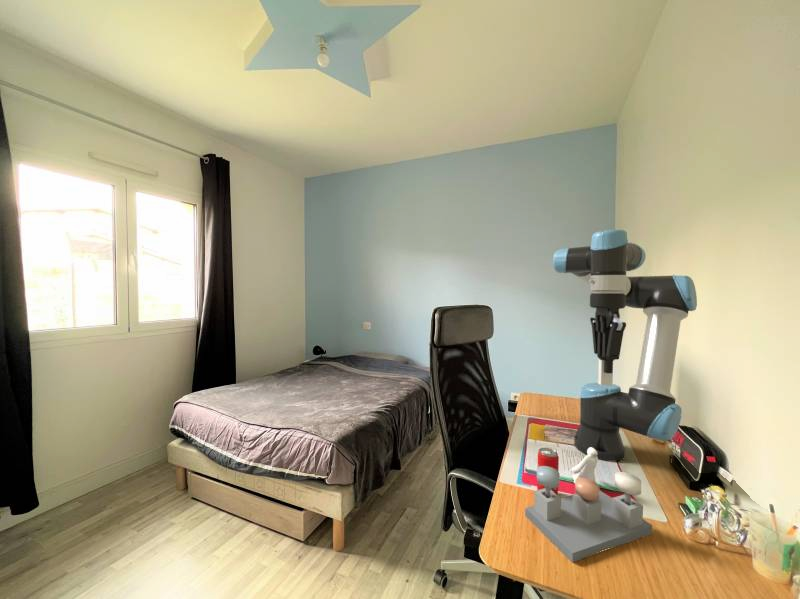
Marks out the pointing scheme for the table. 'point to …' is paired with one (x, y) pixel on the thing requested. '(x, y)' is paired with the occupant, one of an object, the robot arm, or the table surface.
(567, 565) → the table surface
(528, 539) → the table surface
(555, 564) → the table surface
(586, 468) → the figurine
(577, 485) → the terracotta button
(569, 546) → the button board
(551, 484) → the blue-grey rounded knob
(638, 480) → the ivory button
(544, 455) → the beverage can
